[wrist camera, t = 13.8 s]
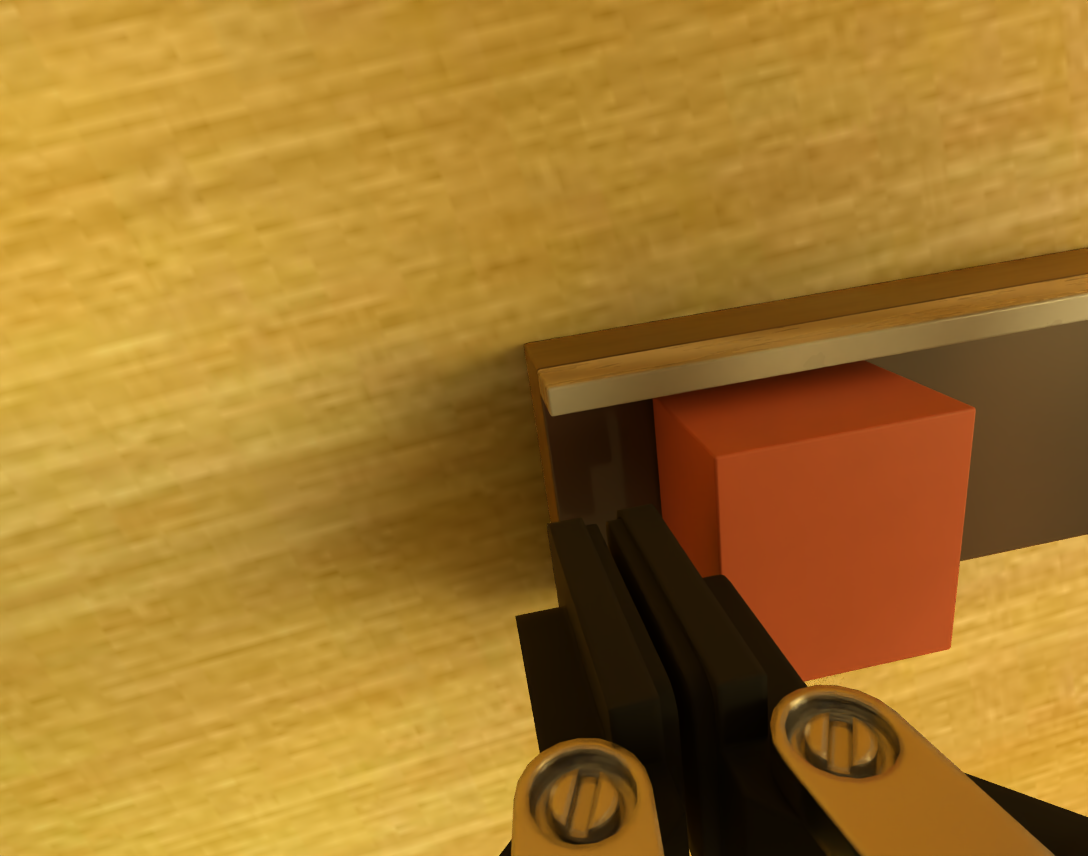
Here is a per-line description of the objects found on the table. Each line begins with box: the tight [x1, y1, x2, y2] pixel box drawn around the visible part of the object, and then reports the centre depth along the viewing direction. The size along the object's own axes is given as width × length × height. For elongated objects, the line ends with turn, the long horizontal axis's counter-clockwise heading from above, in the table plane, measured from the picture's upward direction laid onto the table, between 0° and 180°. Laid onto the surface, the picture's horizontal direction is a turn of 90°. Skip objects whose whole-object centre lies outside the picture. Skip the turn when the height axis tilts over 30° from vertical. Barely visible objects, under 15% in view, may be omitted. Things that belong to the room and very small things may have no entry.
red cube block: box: [653, 360, 976, 681], centre depth 12 cm, size 4×4×3 cm
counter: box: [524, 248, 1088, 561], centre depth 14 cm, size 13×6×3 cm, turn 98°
